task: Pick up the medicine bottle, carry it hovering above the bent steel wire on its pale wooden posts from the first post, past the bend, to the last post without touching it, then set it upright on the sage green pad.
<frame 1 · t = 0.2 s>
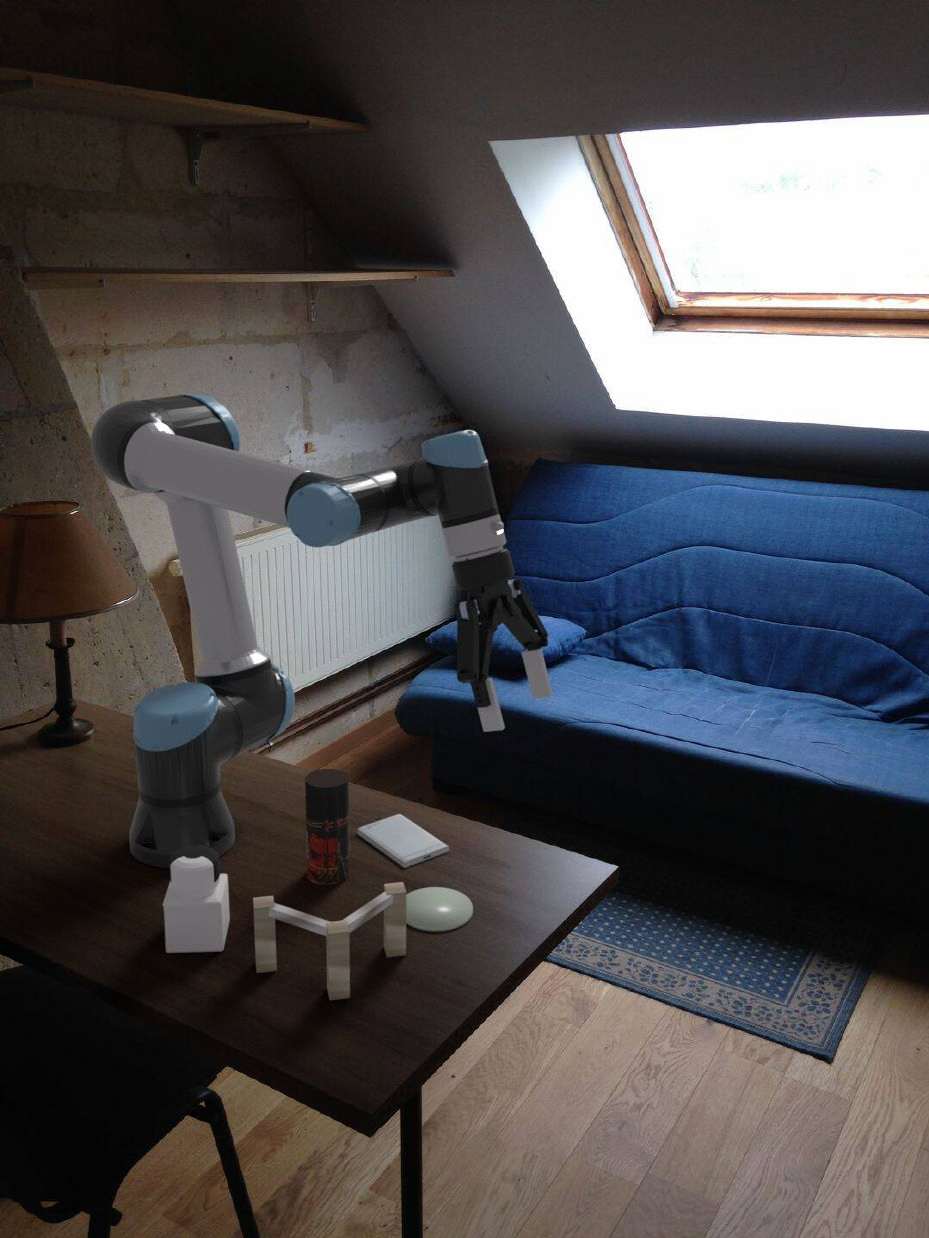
hand: (519, 713, 142), 28 cm above the table, tool tilted 20°, fingers open, 13 cm apart
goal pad: (435, 910, 147), on the table
deodorant: (328, 875, 156), on the table
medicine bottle: (198, 938, 140), on the table
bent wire: (334, 975, 133), on the table
hard drive: (402, 846, 165), on the table
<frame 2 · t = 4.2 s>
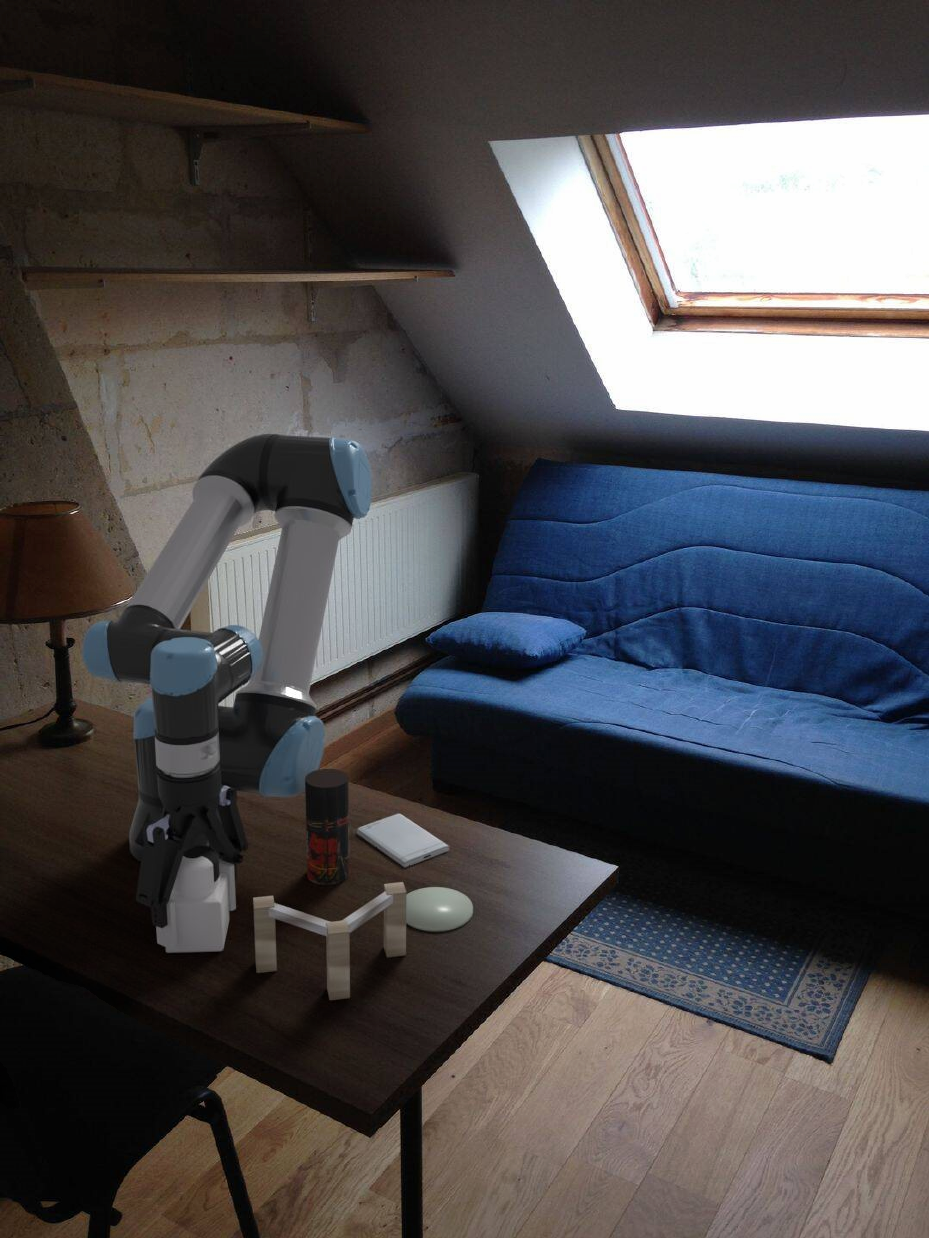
hand: (197, 925, 140), 2 cm above the table, tool pointing down, fingers closed on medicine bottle, 10 cm apart
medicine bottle: (198, 937, 140), on the table, touching gripper
everything else where it was.
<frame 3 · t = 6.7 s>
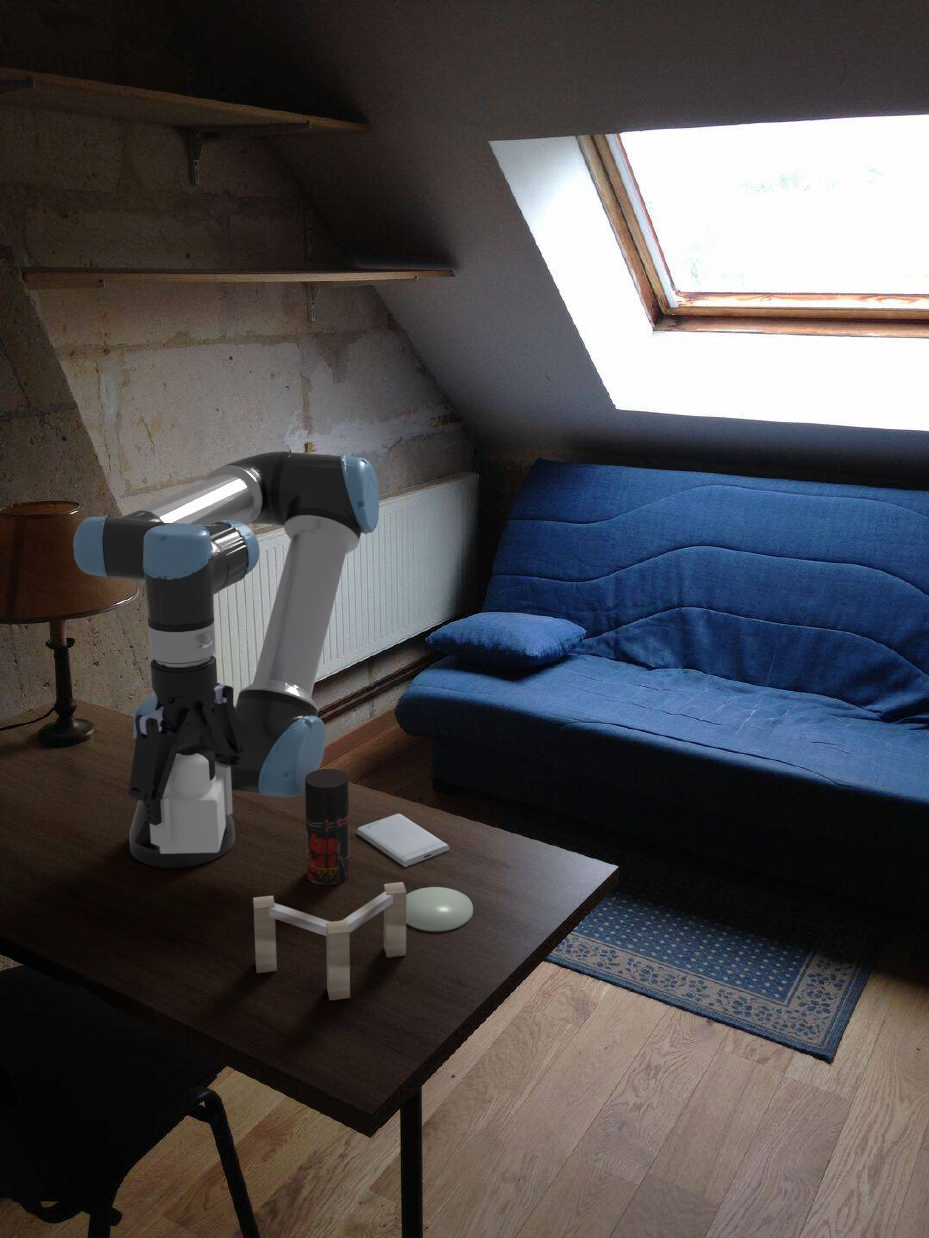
hand: (193, 827, 136), 16 cm above the table, tool pointing down, fingers closed on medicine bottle, 10 cm apart
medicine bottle: (193, 841, 136), point 14 cm above the table, touching gripper
everything else where it was.
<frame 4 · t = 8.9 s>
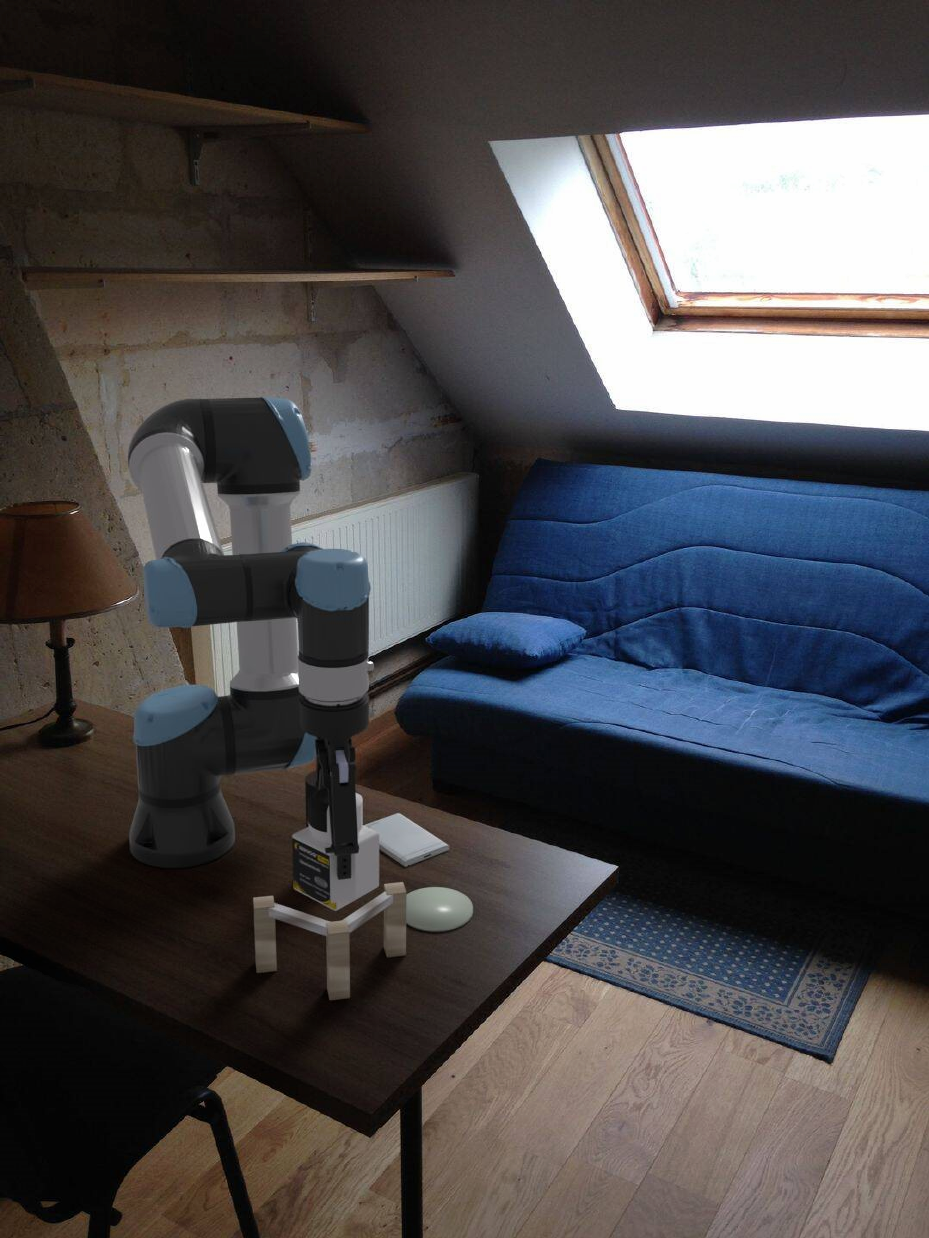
hand: (336, 875, 125), 16 cm above the table, tool pointing down, fingers closed on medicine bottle, 10 cm apart
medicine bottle: (336, 889, 126), point 14 cm above the table, touching gripper
everything else where it was.
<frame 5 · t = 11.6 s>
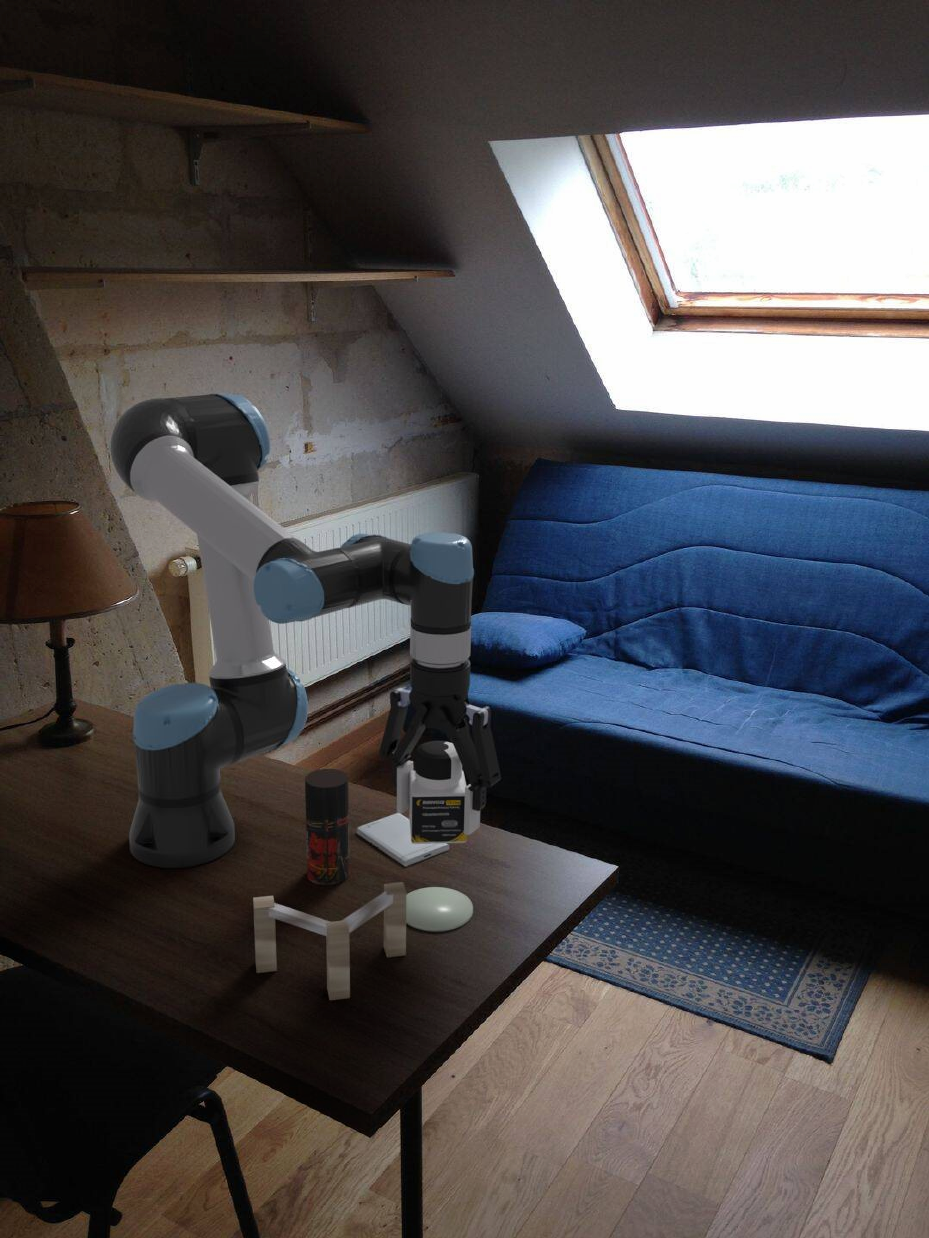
hand: (437, 819, 143), 14 cm above the table, tool pointing down, fingers closed on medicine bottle, 10 cm apart
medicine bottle: (437, 832, 144), point 12 cm above the table, touching gripper
everything else where it was.
when the fingers open (4 cm above the table, at t = 13.8 s): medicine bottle drops 1 cm, resting on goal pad.
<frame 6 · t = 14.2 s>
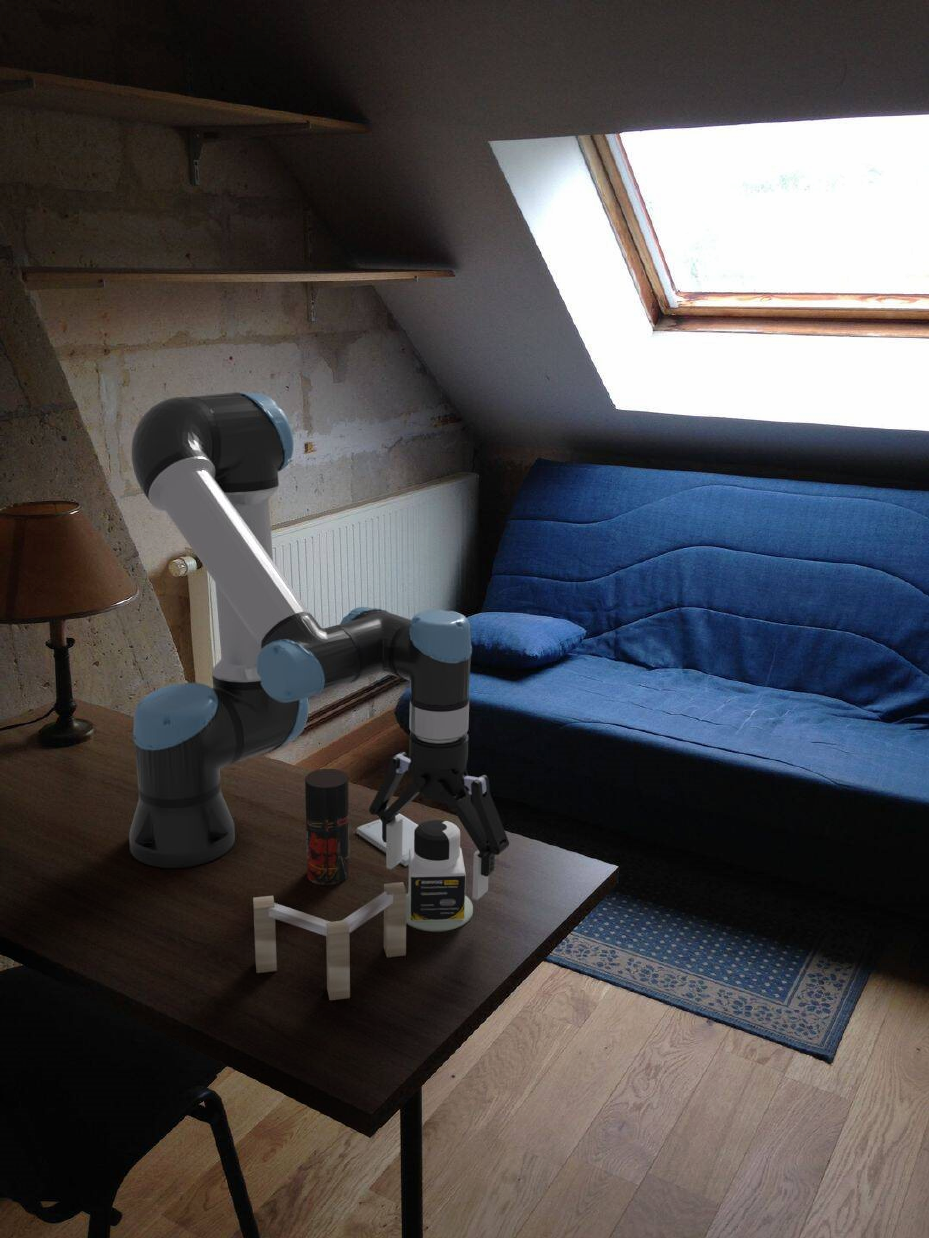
hand: (436, 879, 146), 5 cm above the table, tool pointing down, fingers open, 13 cm apart
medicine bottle: (435, 908, 147), resting on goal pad
everything else where it was.
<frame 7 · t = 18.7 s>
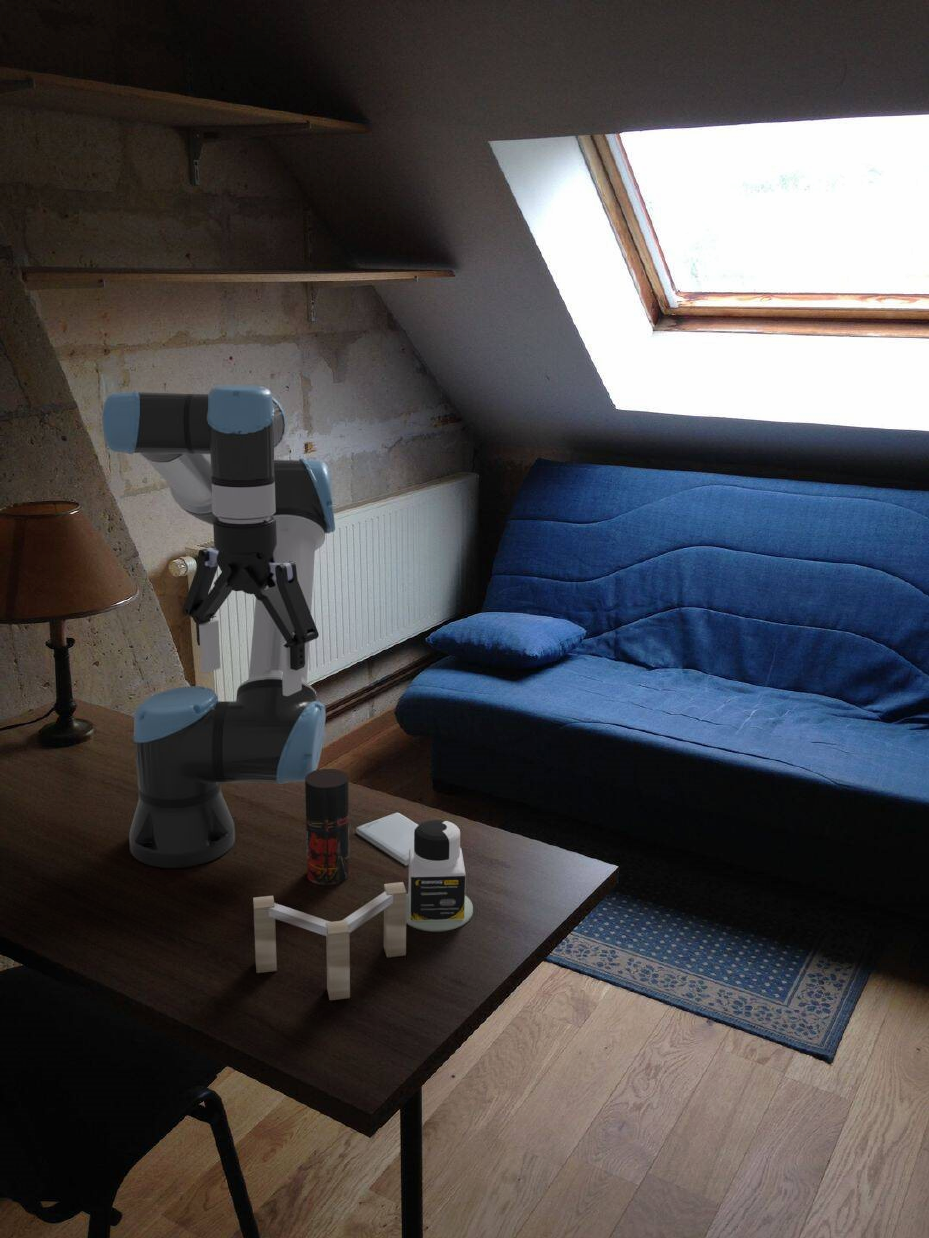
hand: (250, 681, 139), 32 cm above the table, tool pointing down, fingers open, 13 cm apart
nothing on the table moved.
at the end: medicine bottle 0.0 cm off-centre on the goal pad, point 0.3 cm above the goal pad's base; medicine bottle tilted 0°; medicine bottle touching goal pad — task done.
